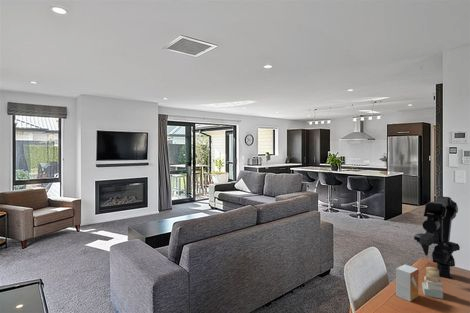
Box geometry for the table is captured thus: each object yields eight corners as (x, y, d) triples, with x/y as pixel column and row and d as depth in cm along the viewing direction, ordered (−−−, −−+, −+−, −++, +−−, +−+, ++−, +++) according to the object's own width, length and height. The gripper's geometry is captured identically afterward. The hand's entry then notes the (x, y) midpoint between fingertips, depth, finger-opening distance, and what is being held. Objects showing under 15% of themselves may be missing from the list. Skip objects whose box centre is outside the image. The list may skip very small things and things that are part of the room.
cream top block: (424, 283, 131) (424, 276, 131) (438, 285, 129) (438, 277, 129) (427, 288, 126) (427, 281, 126) (442, 290, 124) (442, 283, 124)
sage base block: (422, 289, 133) (422, 281, 133) (439, 292, 129) (439, 284, 129) (424, 296, 126) (424, 288, 126) (443, 299, 123) (443, 292, 123)
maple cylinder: (425, 276, 131) (425, 266, 131) (437, 278, 129) (437, 267, 129) (427, 281, 126) (427, 270, 126) (440, 283, 124) (440, 272, 124)
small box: (410, 302, 121) (410, 273, 121) (395, 295, 127) (395, 268, 126) (419, 296, 126) (418, 268, 125) (404, 290, 131) (404, 263, 131)
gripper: (406, 224, 142) (406, 254, 142) (443, 235, 124) (443, 269, 124) (421, 222, 145) (421, 251, 146) (460, 232, 127) (460, 265, 128)
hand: (435, 258), depth 136 cm, fingers open, 9 cm apart
